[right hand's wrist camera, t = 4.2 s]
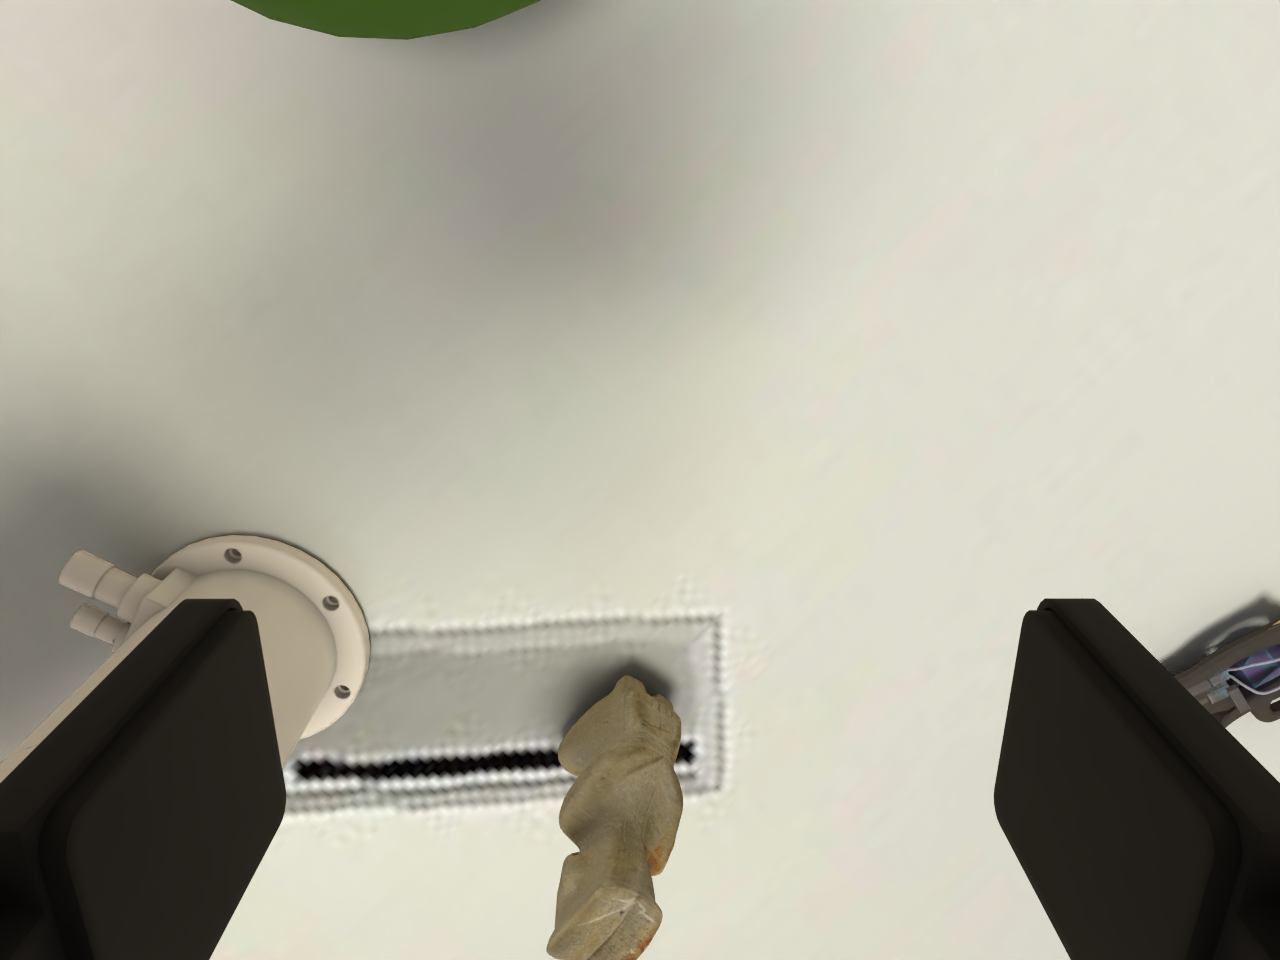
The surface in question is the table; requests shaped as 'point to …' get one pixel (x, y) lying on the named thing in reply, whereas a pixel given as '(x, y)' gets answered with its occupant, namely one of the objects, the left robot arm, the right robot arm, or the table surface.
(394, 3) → the vase
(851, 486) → the table surface
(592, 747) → the sculpture
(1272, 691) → the toy gun
